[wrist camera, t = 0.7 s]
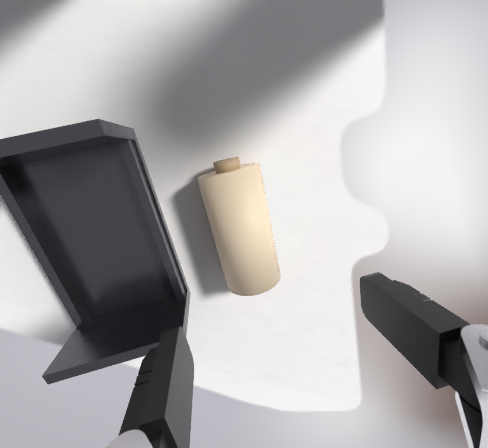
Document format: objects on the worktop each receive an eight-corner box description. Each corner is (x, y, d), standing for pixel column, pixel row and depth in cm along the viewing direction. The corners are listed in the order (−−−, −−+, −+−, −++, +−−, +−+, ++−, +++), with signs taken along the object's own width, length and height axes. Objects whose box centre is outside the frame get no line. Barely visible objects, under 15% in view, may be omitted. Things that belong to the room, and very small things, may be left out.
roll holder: (0, 157, 21) (-108, 161, 14) (133, 129, 22) (98, 118, 15) (89, 321, 27) (47, 384, 20) (190, 293, 28) (185, 343, 21)
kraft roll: (198, 164, 25) (189, 170, 19) (254, 151, 24) (261, 153, 19) (228, 277, 29) (228, 309, 24) (276, 266, 29) (287, 296, 23)
